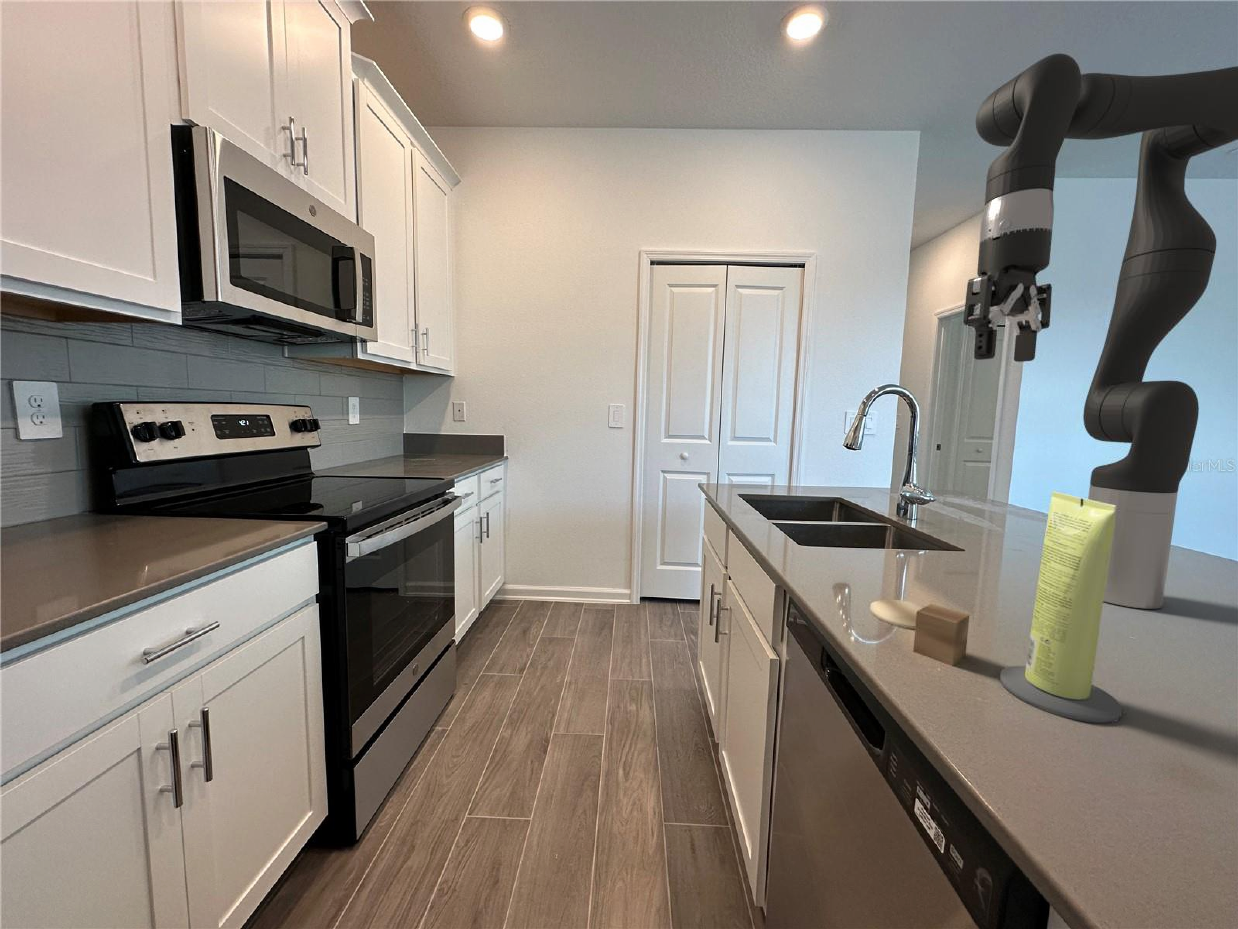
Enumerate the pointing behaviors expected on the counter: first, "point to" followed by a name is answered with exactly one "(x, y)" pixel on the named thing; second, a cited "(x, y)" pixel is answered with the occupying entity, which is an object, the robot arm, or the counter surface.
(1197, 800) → the counter surface
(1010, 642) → the counter surface
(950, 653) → the walnut block
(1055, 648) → the tube
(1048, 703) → the pad
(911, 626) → the pad
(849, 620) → the counter surface
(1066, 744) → the counter surface
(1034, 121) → the robot arm
